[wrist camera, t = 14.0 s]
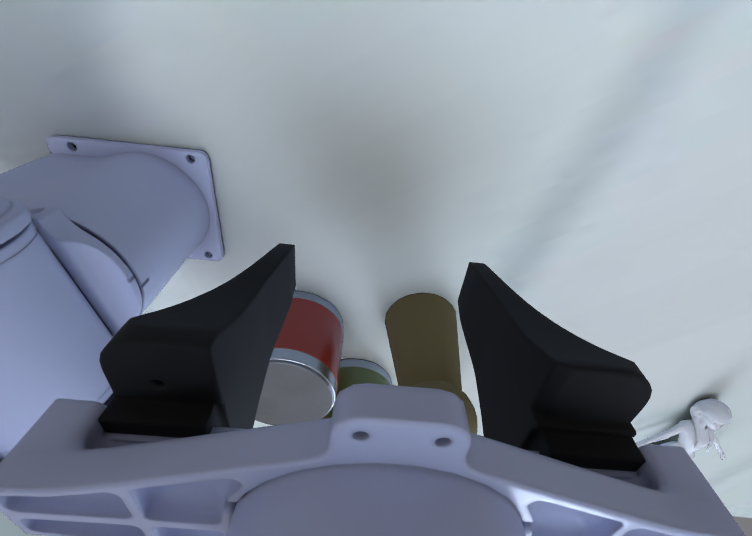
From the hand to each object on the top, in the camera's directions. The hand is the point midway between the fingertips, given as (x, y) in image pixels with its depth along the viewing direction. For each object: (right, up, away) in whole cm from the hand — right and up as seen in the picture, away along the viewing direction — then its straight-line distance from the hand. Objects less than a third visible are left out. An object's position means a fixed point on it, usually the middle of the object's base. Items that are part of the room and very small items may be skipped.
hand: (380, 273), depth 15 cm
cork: (+4, -4, +16) cm, 17 cm away
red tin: (-7, -5, +16) cm, 18 cm away
